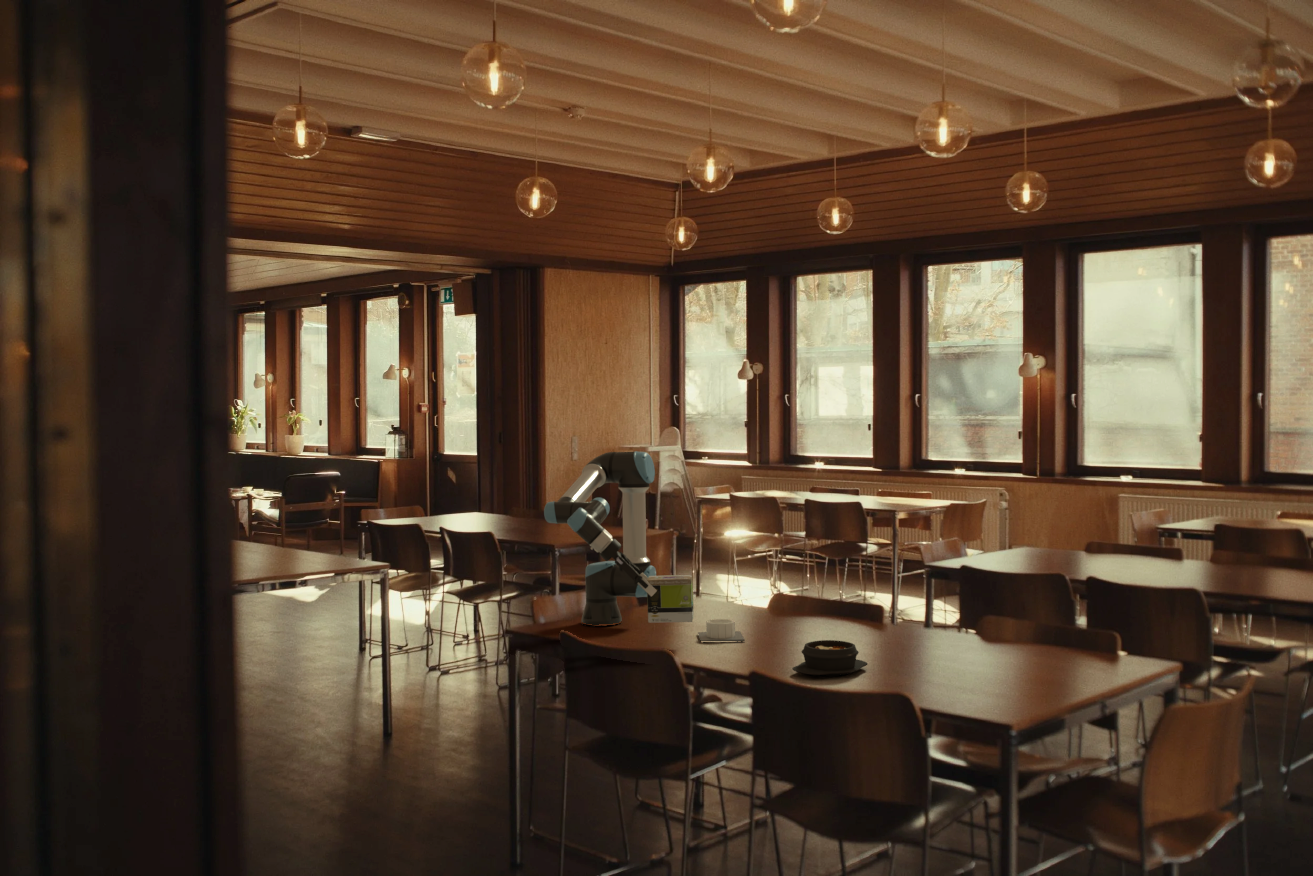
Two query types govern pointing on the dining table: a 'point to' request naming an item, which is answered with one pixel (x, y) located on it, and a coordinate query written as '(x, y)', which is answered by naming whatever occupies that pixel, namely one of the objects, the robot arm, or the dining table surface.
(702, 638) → the bowl
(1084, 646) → the dining table surface
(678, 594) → the tea box
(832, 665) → the casserole
